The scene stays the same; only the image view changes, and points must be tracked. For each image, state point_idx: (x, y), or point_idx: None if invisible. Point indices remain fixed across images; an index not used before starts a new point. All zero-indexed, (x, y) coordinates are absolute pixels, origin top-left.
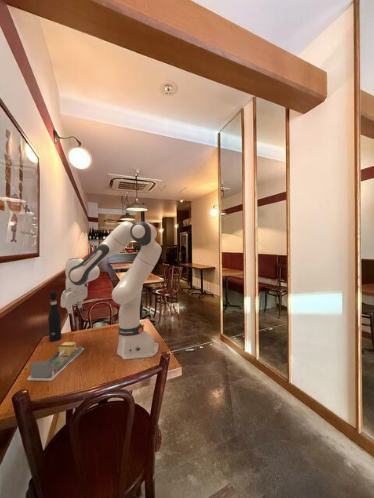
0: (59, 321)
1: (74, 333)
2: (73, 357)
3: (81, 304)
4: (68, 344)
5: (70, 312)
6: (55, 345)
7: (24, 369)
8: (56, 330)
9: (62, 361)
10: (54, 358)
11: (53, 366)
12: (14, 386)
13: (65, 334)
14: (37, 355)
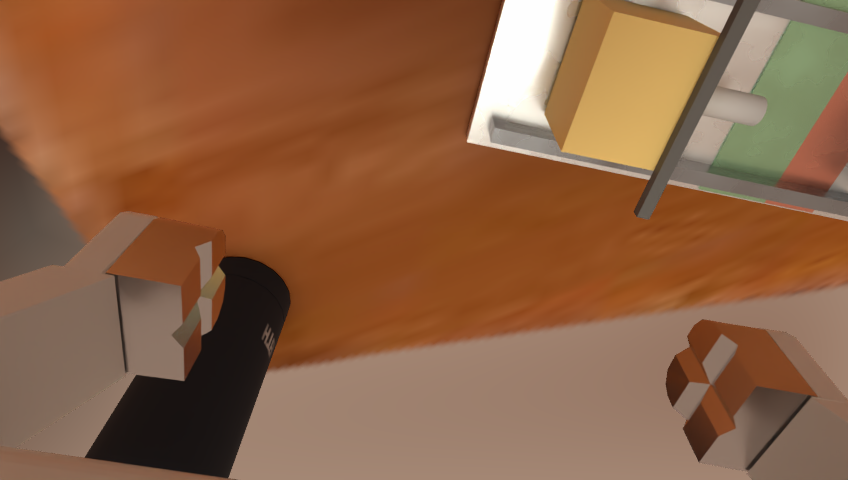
0: (172, 393)
1: (102, 179)
2: None
3: (100, 281)
4: (652, 85)
5: (805, 358)
6: (646, 215)
7: (702, 300)
8: (245, 341)
9: (763, 59)
10: None
11: (827, 106)
12: None
13: None
14: (513, 306)
